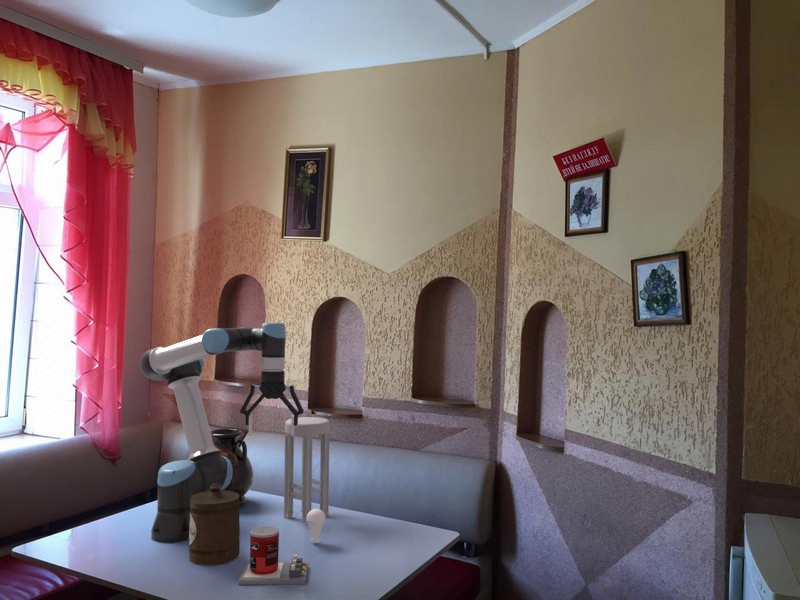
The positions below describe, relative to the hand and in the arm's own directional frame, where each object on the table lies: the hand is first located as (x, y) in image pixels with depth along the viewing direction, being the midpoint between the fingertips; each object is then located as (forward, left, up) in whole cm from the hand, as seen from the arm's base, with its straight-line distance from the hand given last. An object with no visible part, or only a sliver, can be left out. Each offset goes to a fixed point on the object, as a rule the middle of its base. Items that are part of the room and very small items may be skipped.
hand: (271, 435), depth 213 cm
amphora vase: (-23, +41, -35) cm, 58 cm away
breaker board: (+5, -27, -34) cm, 44 cm away
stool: (+10, +25, -35) cm, 44 cm away
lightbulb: (+15, -2, -35) cm, 38 cm away
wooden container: (-15, -12, -35) cm, 40 cm away
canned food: (+2, -27, -33) cm, 43 cm away
